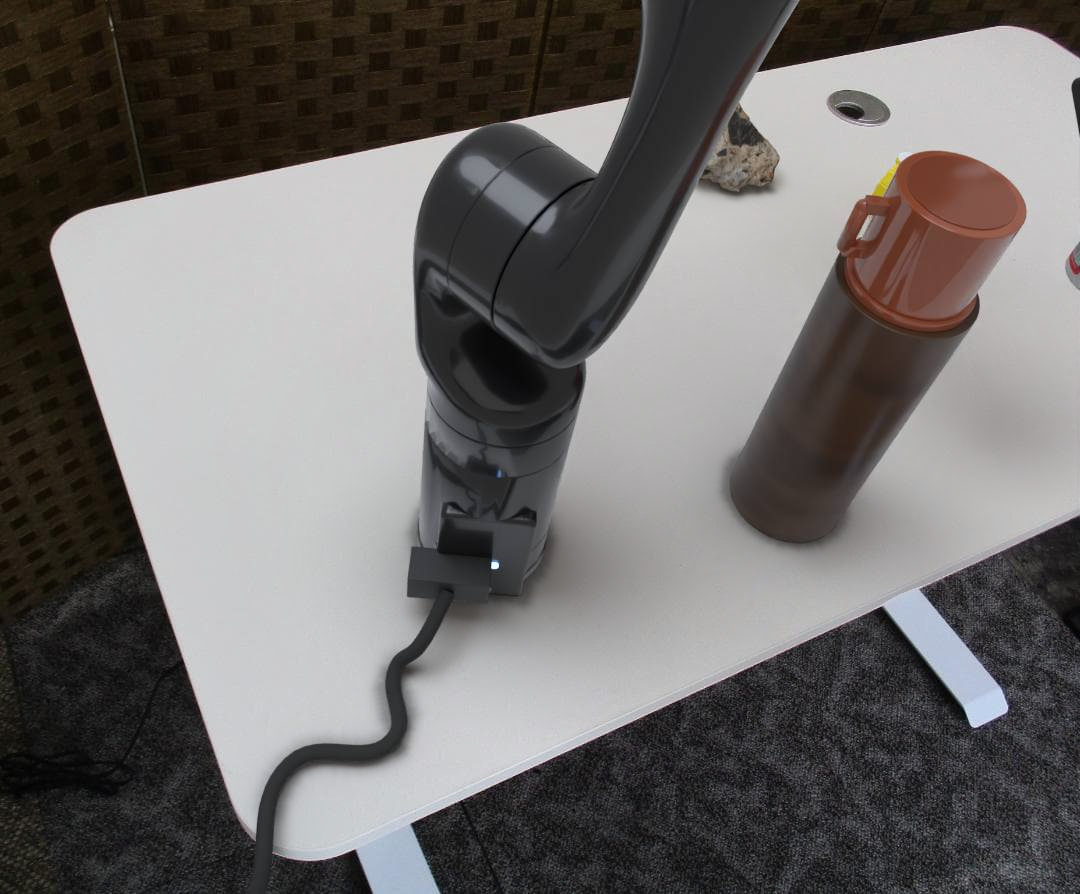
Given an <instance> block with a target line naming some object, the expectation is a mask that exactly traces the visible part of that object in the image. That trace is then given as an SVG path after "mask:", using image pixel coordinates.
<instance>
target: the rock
mask: <svg viewBox="0 0 1080 894" xmlns="http://www.w3.org/2000/svg"><path fill="white" fill-rule="evenodd" d="M740 103H741V102H739V104H738V105H737V107H736V109H735V111H734V113H733V115H732V117H731V118H730V120H729V122H728V124H727V126H726V128H725V130H724V132H723V134H722V136H721V138H720V140H719V142H718V144H717V146H716V148H715V150H714V152H713V154H712V156H711V158H710V160H709V162H708V164H707V166H706V167H705V169H704V171H703V173H702V175H701V177H700V179H704V180H707V179H709V180H711V181H712V182H713V183H719V184H720V185H719V186H720V187H721V188H722V189H725V190H727V191H730V192H740V189H741V188H742V187H746V186H747V185H750V186H756V187H763V186H764V185H766V184H768V183H769V184H770V183H772V182H773V180H774V178H775V170H776V168H777V167H778V164H779V162H780V159H781V158H780V155H779V153H778V152H777V149H776V148H775V147H774V145H772V144H771V143H770V141H769V139H767V138H766V137H764V136H763V134H762V133H761V132H760V131H759V130H758V128H757V127H756V126H755V124H754V123H753V122H752V121H751V118H750V116H749V115H748V114H747V113H746V112H745V111H744V110H743V107H742V105H741V104H740Z"/></svg>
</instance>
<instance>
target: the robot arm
mask: <svg viewBox="0 0 1080 894" xmlns="http://www.w3.org/2000/svg"><path fill="white" fill-rule="evenodd" d="M800 1H801V0H641V11H640V12H641V13H640V14H641V16H640V36H639V37H640V38H639V48H638V54H637V55H638V57H637V61H636V68H635V71H634V72H635V73H634V78H633V82H632V86H631V89H630V94H629V97H628V101H627V104H626V107H625V109H624V111H623V115H622V118H621V121H620V122H619V125H618V128H617V131H616V132H615V135H614V138H613V139H612V142H611V145H610V146H609V148H608V149H609V150H608V151H607V154H606V156H605V158H604V159H603V162H602V165H601V166H600V169H599V170H598V172H596V171H594V170H593V169H591V168H590V167H588V166H587V165H586V164H584V163H583V162H581V161H580V160H578V159H577V158H575V157H574V156H573V155H571V154H570V153H568V152H567V151H565V150H564V149H563V148H561V147H560V146H559V145H557V144H556V143H554V142H552V141H551V140H549V139H548V138H547V137H544V136H543V135H541V134H540V133H539V132H537V131H535V130H534V129H532V128H530V127H527V126H525V125H523V124H520V123H515V122H508V121H501V122H495V123H490V124H487V125H483V126H481V127H479V128H478V129H475V130H474V131H472V132H470V133H469V134H467V135H466V136H464V137H463V138H462V139H461V140H460V141H458V143H457V144H455V145H454V146H453V147H452V148H451V150H450V151H448V153H447V154H446V155H445V156H444V158H443V159H442V160H441V162H440V163H439V165H438V167H437V168H436V169H435V172H434V174H433V176H432V177H431V179H430V181H429V183H428V185H427V188H426V190H425V193H424V195H423V197H422V201H421V204H420V207H419V210H418V214H417V218H416V223H415V229H414V236H413V249H412V290H413V291H412V292H413V316H414V317H413V318H414V319H413V320H414V343H415V350H416V354H417V357H418V360H419V362H420V366H421V368H422V370H423V372H424V374H425V375H426V376H427V378H426V395H425V396H426V397H425V409H424V425H423V426H424V427H423V428H424V429H423V443H422V463H421V477H420V478H421V479H420V480H421V481H420V496H419V497H420V498H419V516H418V520H417V526H416V527H417V528H416V541H417V546H415V545H413V546H411V547H410V557H409V563H408V571H407V572H408V573H407V582H406V598H413V599H414V598H415V599H427V600H434V603H433V604H432V606H431V608H430V611H429V613H428V614H427V617H426V619H425V621H424V623H423V625H422V627H421V629H420V630H419V632H418V633H417V635H416V636H415V638H414V639H413V640H412V642H411V643H410V644H409V645H407V646H406V647H404V648H403V649H402V650H400V651H398V652H397V653H396V654H395V655H394V656H393V657H392V659H391V660H390V662H389V664H388V667H387V670H386V673H385V679H384V681H385V683H384V685H385V694H386V700H387V703H388V707H389V712H390V718H391V725H390V728H389V731H388V732H387V733H386V734H385V735H384V736H383V737H382V738H381V739H379V740H377V741H375V742H372V743H368V744H367V743H366V744H347V743H335V742H334V743H331V742H329V743H328V742H324V743H323V742H321V743H313V744H309V745H308V744H307V745H304V746H302V747H300V748H297V749H295V750H293V751H292V752H291V753H289V754H288V755H287V756H286V757H284V758H283V759H282V761H280V763H278V765H277V766H276V767H275V768H274V770H273V771H272V773H271V774H270V776H269V778H268V780H267V782H266V784H265V786H264V789H263V791H262V794H261V796H260V801H259V805H258V809H257V810H258V811H257V818H256V829H255V843H254V844H255V845H254V857H253V866H252V872H251V876H250V882H249V885H248V890H247V894H267V890H268V886H269V881H270V875H271V870H272V862H273V853H274V835H275V834H274V832H275V821H276V819H275V818H276V811H277V806H278V805H277V804H278V800H279V797H280V795H281V792H282V789H283V787H284V785H285V784H286V783H287V781H288V779H290V777H291V776H292V775H293V774H294V773H295V772H296V770H298V769H299V768H301V767H302V766H304V765H307V764H308V763H312V762H317V761H336V762H354V763H355V762H357V763H358V762H362V763H363V762H370V761H375V760H379V759H381V758H383V757H385V756H387V755H388V754H390V753H391V752H393V751H394V750H395V749H396V748H397V747H398V746H399V745H400V743H401V741H402V740H403V739H404V736H405V735H406V731H407V728H408V712H407V707H406V703H405V699H404V695H403V691H402V676H403V672H404V670H405V669H406V667H407V666H408V665H409V664H411V663H412V662H415V661H416V660H417V659H419V658H420V657H421V656H422V655H423V654H424V653H425V652H426V650H427V649H428V648H429V646H430V645H431V643H432V642H433V640H434V638H435V637H436V635H437V633H438V630H439V629H440V628H441V625H442V623H443V621H444V619H445V617H446V614H447V612H448V610H449V608H450V606H451V604H452V602H460V603H470V604H480V605H487V604H488V600H489V597H490V596H489V595H490V594H496V595H507V596H521V595H522V591H523V589H524V588H523V587H524V582H525V580H527V579H528V578H529V577H531V575H532V574H533V573H534V572H536V570H537V568H538V567H539V565H540V563H541V562H542V559H543V557H544V554H545V550H546V547H547V539H548V532H549V528H550V525H551V520H552V516H553V512H554V508H555V506H556V505H555V504H556V500H557V496H558V493H559V488H560V484H561V481H562V476H563V473H564V469H565V466H566V462H567V458H568V454H569V450H570V449H569V448H570V445H571V442H572V439H573V434H574V431H575V426H576V424H577V418H578V415H579V412H580V407H581V405H582V399H583V395H584V392H585V388H586V382H587V361H586V360H587V359H588V358H589V357H591V356H592V355H594V354H595V353H596V352H597V351H598V350H599V349H600V348H601V347H602V346H603V345H604V344H605V343H606V342H607V341H608V340H609V339H610V338H611V336H612V335H613V334H614V333H615V331H616V330H617V329H618V328H619V327H620V325H621V323H622V322H623V321H624V319H626V317H627V315H628V314H629V312H630V311H631V309H632V308H633V307H634V305H635V303H636V301H637V300H638V298H639V297H640V295H641V293H642V292H643V290H644V288H645V286H646V285H647V283H648V281H649V279H650V277H651V276H652V273H653V271H654V269H655V268H656V265H657V264H658V262H659V260H660V258H661V257H662V254H663V252H664V251H665V249H666V247H667V245H668V243H669V241H670V238H671V237H672V236H673V233H674V231H675V228H676V227H677V225H678V223H679V221H680V219H681V217H682V215H683V213H684V211H685V209H686V207H687V205H688V203H689V201H690V199H691V197H692V196H693V194H694V191H695V189H696V187H697V185H698V183H699V181H700V179H701V178H700V177H701V175H702V173H703V171H704V169H705V167H706V166H707V164H708V162H709V160H710V158H711V156H712V154H713V152H714V150H715V148H716V146H717V144H718V142H719V140H720V138H721V136H722V134H723V132H724V130H725V128H726V126H727V124H728V122H729V120H730V118H731V117H732V115H733V113H734V111H735V109H736V107H737V105H738V104H739V103H741V100H742V98H743V96H744V94H745V93H746V91H747V89H748V87H749V86H750V84H751V83H752V80H753V79H754V77H755V75H756V74H757V72H758V71H759V68H760V67H761V65H762V63H763V62H764V60H765V58H766V57H767V55H768V53H769V51H771V48H772V47H773V45H774V43H775V42H776V40H777V38H778V36H779V35H780V33H781V31H782V29H783V28H784V26H785V25H786V23H787V21H788V20H789V18H790V17H791V15H792V13H793V12H794V10H795V8H796V7H797V5H798V4H799V2H800ZM1070 87H1071V88H1070V89H1071V90H1070V91H1071V95H1072V101H1073V106H1074V113H1075V119H1076V123H1077V129H1078V135H1079V137H1080V77H1076V78H1075V79H1074V80H1073V81H1072V82H1071V86H1070Z"/></svg>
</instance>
